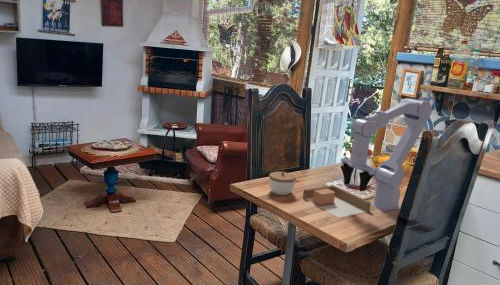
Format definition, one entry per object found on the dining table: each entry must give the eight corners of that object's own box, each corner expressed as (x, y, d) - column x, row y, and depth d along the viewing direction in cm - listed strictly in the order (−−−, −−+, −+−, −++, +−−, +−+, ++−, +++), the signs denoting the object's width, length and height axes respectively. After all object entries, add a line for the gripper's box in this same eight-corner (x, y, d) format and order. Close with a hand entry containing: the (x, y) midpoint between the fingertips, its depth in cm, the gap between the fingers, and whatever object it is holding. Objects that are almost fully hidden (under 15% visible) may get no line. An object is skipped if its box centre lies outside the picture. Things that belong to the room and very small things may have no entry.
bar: (320, 205, 142) (322, 194, 141) (312, 201, 146) (314, 190, 145) (333, 203, 146) (335, 192, 145) (325, 199, 150) (327, 188, 149)
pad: (325, 198, 150) (326, 198, 150) (335, 203, 146) (335, 203, 146) (310, 201, 146) (310, 201, 146) (320, 206, 141) (320, 206, 141)
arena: (332, 194, 158) (333, 185, 157) (369, 212, 141) (370, 202, 140) (302, 199, 149) (303, 189, 148) (338, 219, 133) (339, 208, 132)
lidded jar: (262, 192, 153) (264, 170, 151) (279, 187, 161) (281, 166, 159) (282, 200, 146) (284, 177, 144) (299, 195, 153) (301, 173, 151)
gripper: (337, 147, 141) (332, 182, 144) (367, 158, 129) (361, 195, 132) (351, 146, 144) (346, 180, 147) (381, 156, 132) (375, 193, 135)
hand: (354, 187), depth 140 cm, fingers open, 7 cm apart
